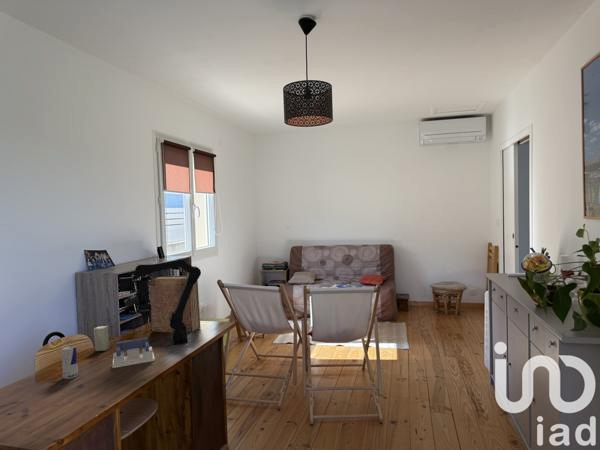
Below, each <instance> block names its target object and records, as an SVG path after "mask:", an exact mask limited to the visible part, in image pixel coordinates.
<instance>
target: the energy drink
mask: <svg viewBox="0 0 600 450" xmlns="http://www.w3.org/2000/svg"><path fill="white" fill-rule="evenodd" d="M77 351H78V350H77V346H76V345H68V346H64V347H62V348H61V351H60V352H61V363H62V364H61V366H62V378H63V379H65V380H70V379H74V378H76V377H78V375H79V368H78V367H79V366H78V355H77V353H78V352H77Z"/></svg>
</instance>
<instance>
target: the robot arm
mask: <svg viewBox="0 0 600 450" xmlns="http://www.w3.org/2000/svg"><path fill="white" fill-rule="evenodd" d="M176 268H181V269H183V270H184V271H185V272H187V273H186V276H187V277H186V284H185V286H184V289H183V291H182V294H181V297H180V299H179V302H178V304H177V307H176V309H175V310H174V312H172V311H171V312H170V316H169V317H168V320H169V325H170V327H171V328H172V329H174V330H173V333H171V341H172V343H173V345H181V344H186V343H187V344H188V342H189V341H188V335H187V334H188V333H187V330H186V328H187V327H186V326H185V324H184V323H183V322H182V320H183V312H184V309H185V306H186V304H187V301H188V299H189V296H190V293H191V291H192V288H193V286H194V284H195V283H196V281H197V280H198V281H199V278H200V277H201V275H202V272H201V269H200V267H197V266H196V265H191V264H190V263H188V262H186V261H185V260H184V258H176V259H173V260H167V261H161V262H157V263H138V264H137V265H136V266H135V268H134V272H133V274H131V276H130V277H119V293H127V292H133V290H134V289H136V292H135V295H133V296H131V297H128V298H125V299H124V305H125V306H126V308H130V307H131V306H133V305H135V304H136V307H137V308H136V310H137V313H139V314H140V315H141V317H142V321H143V324H144V325H147V323H148V320H149V317H150V316H151V309H152V307H151V304H150V295H149V280H152V278H153V277H151V276H150V275H151V274H153V273H155V272H160V271H165V270H171V269H176Z"/></svg>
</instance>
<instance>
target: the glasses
mask: <svg viewBox="0 0 600 450" xmlns="http://www.w3.org/2000/svg"><path fill="white" fill-rule="evenodd" d="M149 347H150V344H149V338H148V337H144V338H138V339H129V340H124V341H118V342H117V341H116V350H115V352H116V354H117V357H118V356H120V352H121V351H127V350H128V349H134V348H139V349H140V348H145V350H146V352H148V351H149Z"/></svg>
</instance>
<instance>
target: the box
mask: <svg viewBox="0 0 600 450" xmlns="http://www.w3.org/2000/svg"><path fill="white" fill-rule="evenodd" d="M93 336H94V337H93V338H94V345H95V346H94V347H95V351H96V352H100V351H107V350H108V349H110V348H111V347H110V346H111V345H110V337H109V327H108V325H105V326H104V325H101V326H97V327H94V328H93Z"/></svg>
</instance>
